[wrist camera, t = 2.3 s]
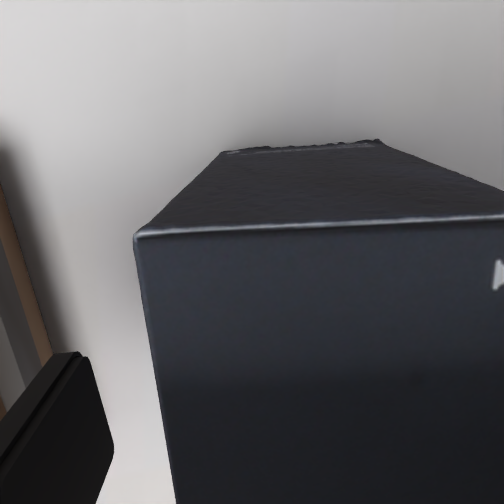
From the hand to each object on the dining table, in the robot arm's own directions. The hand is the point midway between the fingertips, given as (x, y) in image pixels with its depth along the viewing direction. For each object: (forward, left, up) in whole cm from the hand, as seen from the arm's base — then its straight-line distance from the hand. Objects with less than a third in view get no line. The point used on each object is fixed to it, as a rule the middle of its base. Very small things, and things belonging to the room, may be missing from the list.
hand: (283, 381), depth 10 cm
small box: (-1, 0, -7) cm, 7 cm away
